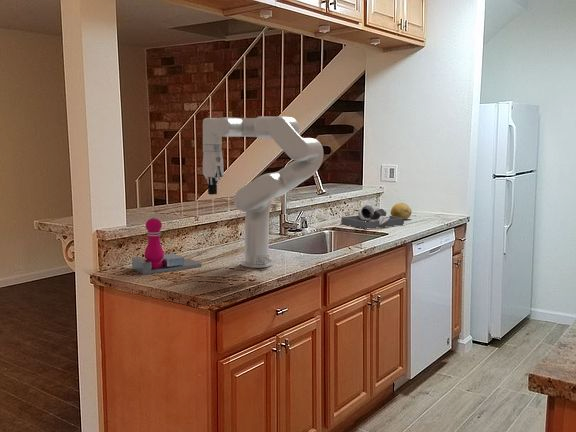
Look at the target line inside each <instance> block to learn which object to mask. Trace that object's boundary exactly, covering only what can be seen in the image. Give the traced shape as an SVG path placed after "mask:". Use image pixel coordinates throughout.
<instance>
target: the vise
mask: <svg viewBox="0 0 576 432" xmlns="http://www.w3.org/2000/svg"><path fill="white" fill-rule="evenodd" d="M200 267H201V268H202V267H203V264H202V263H201V262H199V261H196V260H195V259H192V258H190V257H189V258H188V257H187V258H184V265H177V266H170V267H167V266H165V265H163V266H162V267H160V268H151V262H150V261H148V260H146V258H145V257H141V256H133V257H131V269H132V270H134V271H135V272H138V273H140V274H141V275H143V276H144V275H151V274H159V273H165V272H166V273H167V272H173V271H181V270H189V269H195V268H200Z"/></svg>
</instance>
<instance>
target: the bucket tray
mask: <svg viewBox="0 0 576 432" xmlns="http://www.w3.org/2000/svg"><path fill="white" fill-rule="evenodd" d="M389 216H390V218H389V220H388V221H386V222H384V223H383V224H381V225H379V222H380V221H371V220H370V219H369V220H367V221H369V222H365V221H362V220H361V219H360V217H359V216H358V215H351V216H342V217H341V219H340V220H341V223H340V224H341V225H343V224H345V225H344V226H348V225H351V226H350V227H352V226H356V227H355V228H357V227H361V228H360V229H362V228H366V229H367V228H375V229H377V228H376V227H383V228H386V227H385V226H392V227H395V226H394V225H400V226H404V225H403V224H404V223H405V219H404V218H400V217H395V216H391V215H389ZM366 229H365V230H366ZM367 230H368V229H367Z"/></svg>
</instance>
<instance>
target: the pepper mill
mask: <svg viewBox="0 0 576 432" xmlns="http://www.w3.org/2000/svg"><path fill="white" fill-rule="evenodd" d="M162 226H163V224H162V221H161V220H160V219H158V218H157V216H156V214H151V218H150V219H148V220H146V222H145V229H146V230H147V232H146V233H147V234H146V235H147V237H148V240H147V245H146V247H145V250H144V259H146V260H148V261H150V262H151V268H160V267H162V266H163V261H161V260H162V259H163V257H164V254H165V253H164V252H165V251H164V249H163V247H162V245H161V241H160V236H161V229H162Z"/></svg>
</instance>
